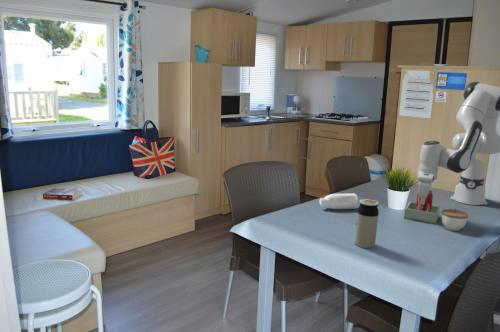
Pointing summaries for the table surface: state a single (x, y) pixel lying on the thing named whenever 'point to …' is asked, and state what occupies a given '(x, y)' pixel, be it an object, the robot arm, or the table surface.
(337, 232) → the table surface
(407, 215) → the serving tub
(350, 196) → the white bottle
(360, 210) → the travel mug
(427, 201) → the soda can
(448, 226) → the lidded jar
